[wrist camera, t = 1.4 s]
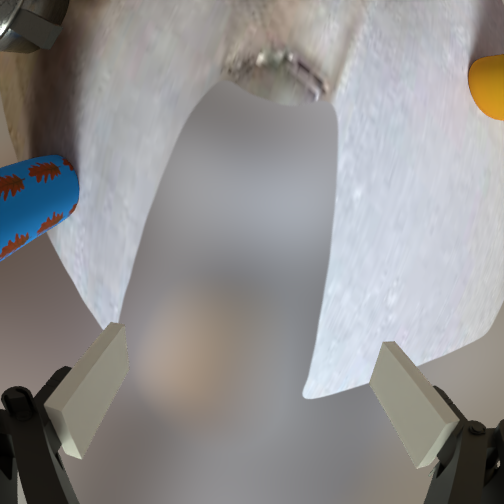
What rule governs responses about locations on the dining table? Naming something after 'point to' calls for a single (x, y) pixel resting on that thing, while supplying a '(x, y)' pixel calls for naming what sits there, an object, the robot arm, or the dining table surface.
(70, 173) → the thermos
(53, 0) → the pot
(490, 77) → the beer bottle
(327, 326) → the dining table surface
